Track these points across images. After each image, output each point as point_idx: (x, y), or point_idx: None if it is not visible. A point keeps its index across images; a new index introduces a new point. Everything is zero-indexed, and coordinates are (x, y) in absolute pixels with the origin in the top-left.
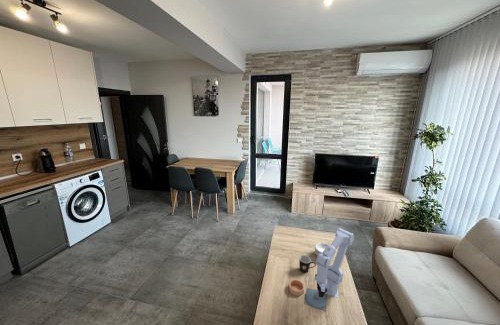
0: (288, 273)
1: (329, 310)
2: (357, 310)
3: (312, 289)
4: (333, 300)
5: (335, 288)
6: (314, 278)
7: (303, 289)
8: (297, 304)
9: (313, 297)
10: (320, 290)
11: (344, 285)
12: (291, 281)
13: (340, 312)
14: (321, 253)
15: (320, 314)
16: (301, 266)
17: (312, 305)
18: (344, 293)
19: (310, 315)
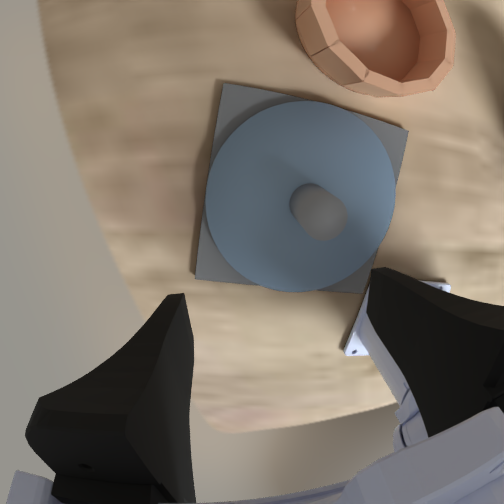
0: (485, 13)
1: (221, 303)
2: (272, 426)
3: (397, 177)
4: (319, 329)
5: (385, 380)
6: (458, 473)
7: (360, 76)
8: (198, 28)
9: (310, 180)
10: (49, 457)
11: None
12: None
13: (229, 364)
14: None
15: (156, 235)
16: None
17: (211, 167)
18: (376, 378)
19: (116, 151)
